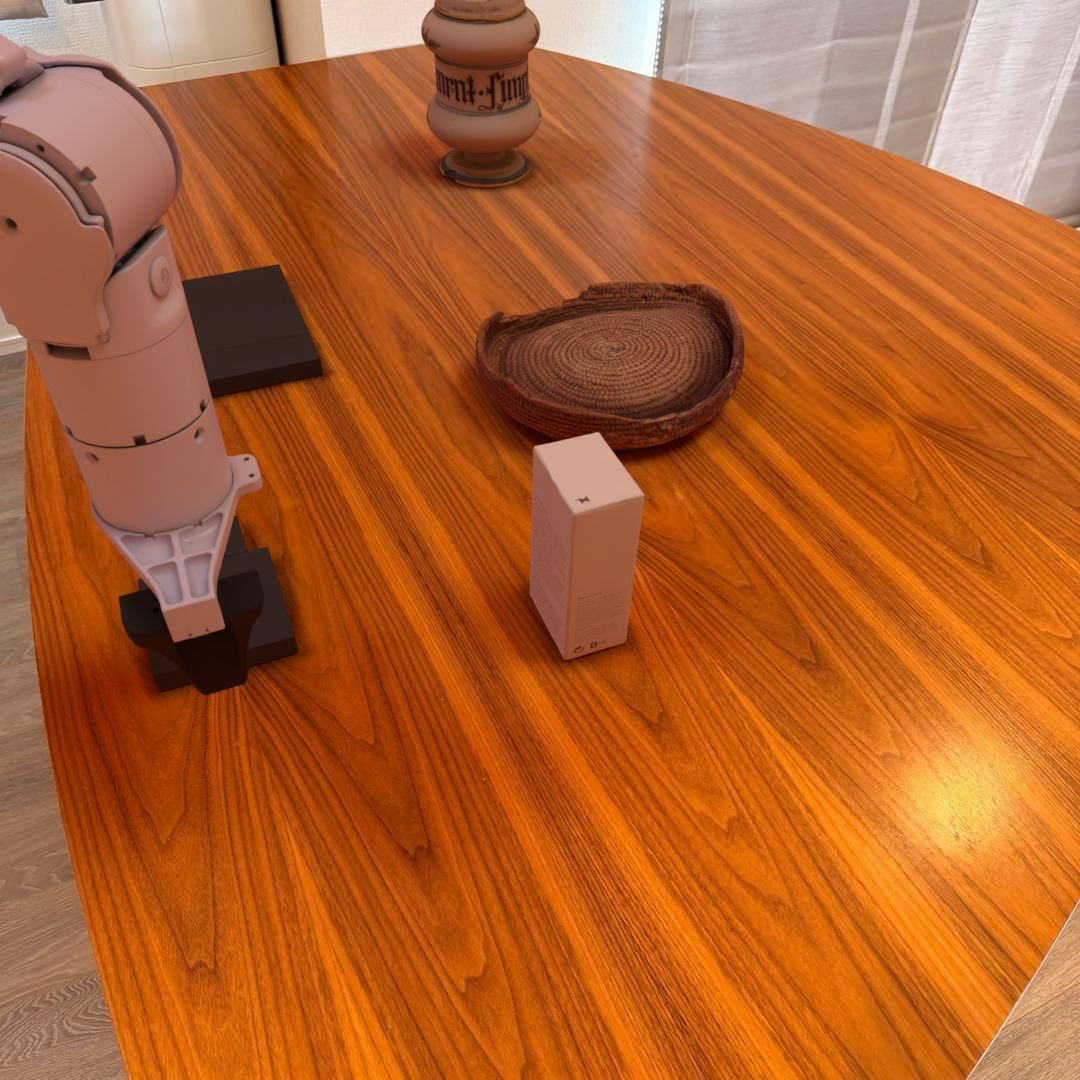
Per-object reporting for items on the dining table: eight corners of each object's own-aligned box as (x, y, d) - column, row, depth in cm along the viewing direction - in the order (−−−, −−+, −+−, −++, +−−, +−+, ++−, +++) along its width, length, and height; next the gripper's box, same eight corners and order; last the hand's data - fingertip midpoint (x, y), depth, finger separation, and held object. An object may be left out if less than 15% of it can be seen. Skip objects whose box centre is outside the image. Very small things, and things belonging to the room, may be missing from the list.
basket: (615, 285, 89) (619, 234, 86) (797, 379, 79) (810, 326, 76) (425, 382, 78) (421, 328, 74) (609, 506, 68) (615, 451, 64)
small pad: (159, 693, 56) (152, 675, 54) (137, 558, 63) (130, 540, 62) (299, 653, 58) (294, 635, 57) (261, 527, 65) (257, 509, 64)
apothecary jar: (406, 168, 106) (392, -16, 93) (484, 136, 112) (480, -40, 100) (485, 203, 100) (481, 13, 88) (562, 168, 107) (569, -15, 94)
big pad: (114, 418, 74) (108, 401, 72) (96, 312, 84) (91, 296, 83) (323, 374, 78) (320, 358, 77) (282, 279, 89) (279, 263, 87)
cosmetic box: (628, 644, 59) (648, 496, 50) (563, 663, 58) (572, 516, 49) (588, 575, 63) (600, 428, 54) (526, 592, 62) (529, 445, 53)
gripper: (274, 492, 35) (325, 714, 45) (210, 296, 45) (263, 513, 54) (66, 542, 33) (166, 763, 43) (45, 325, 43) (130, 545, 52)
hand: (210, 626), depth 48 cm, fingers open, 7 cm apart
